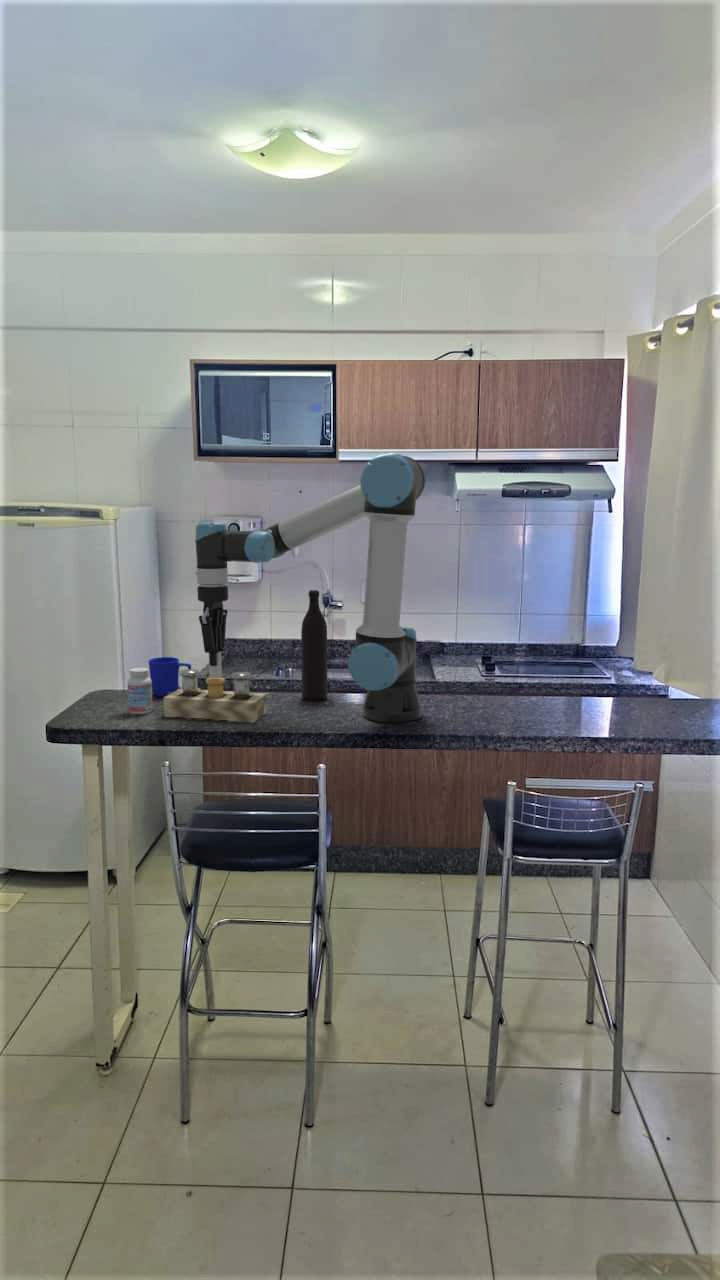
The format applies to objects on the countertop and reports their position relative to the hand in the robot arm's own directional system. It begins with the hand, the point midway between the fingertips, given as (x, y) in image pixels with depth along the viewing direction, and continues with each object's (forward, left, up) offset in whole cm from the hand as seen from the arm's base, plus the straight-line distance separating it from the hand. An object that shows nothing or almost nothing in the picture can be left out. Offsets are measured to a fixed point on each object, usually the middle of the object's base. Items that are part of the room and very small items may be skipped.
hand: (215, 677), depth 203 cm
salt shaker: (+7, 0, -5) cm, 9 cm away
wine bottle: (-20, -22, -10) cm, 31 cm away
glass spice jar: (-7, 0, -5) cm, 9 cm away
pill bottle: (+20, +2, -10) cm, 23 cm away
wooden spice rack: (0, 0, -10) cm, 10 cm away
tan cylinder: (0, 0, -7) cm, 7 cm away
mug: (+20, -16, -10) cm, 28 cm away
